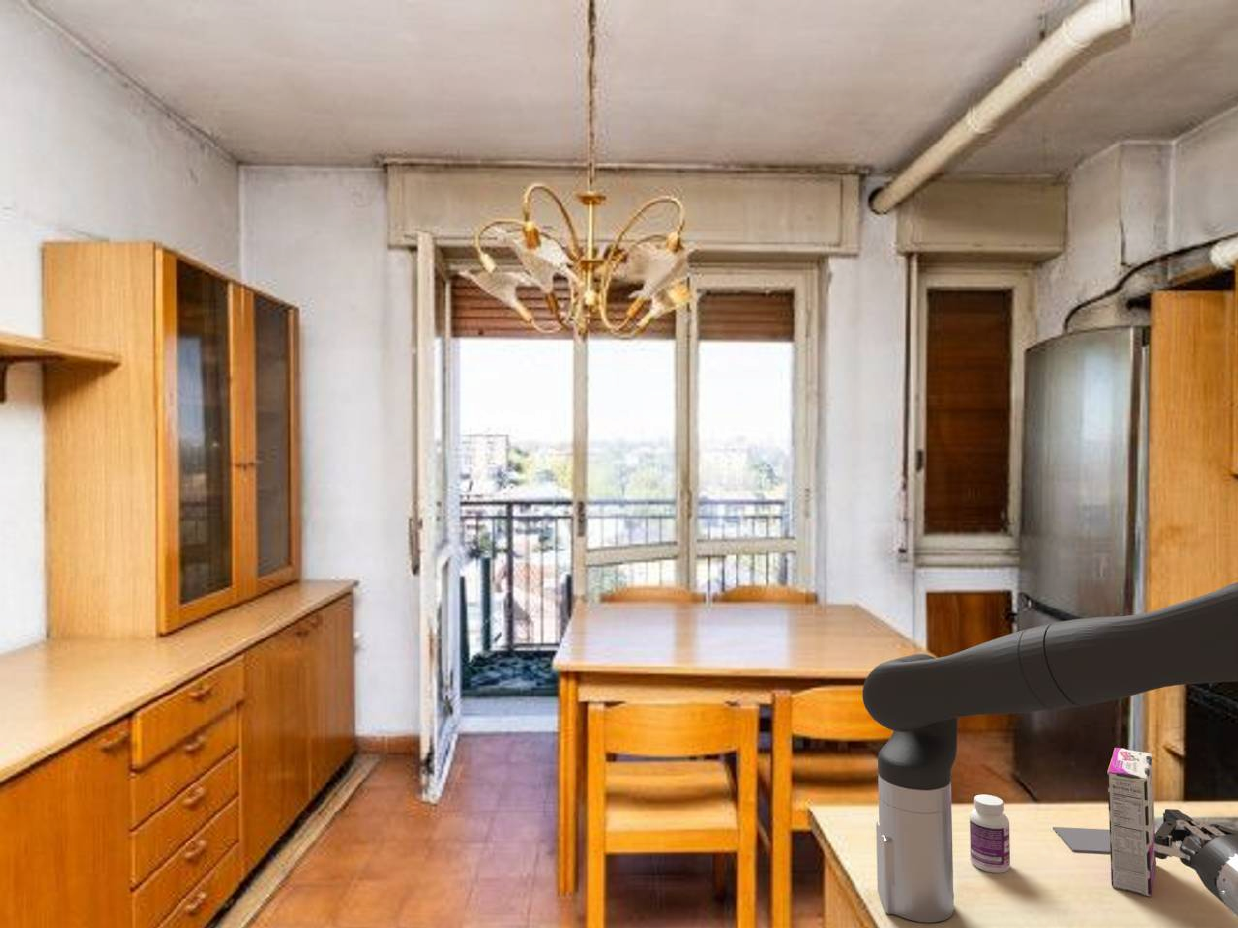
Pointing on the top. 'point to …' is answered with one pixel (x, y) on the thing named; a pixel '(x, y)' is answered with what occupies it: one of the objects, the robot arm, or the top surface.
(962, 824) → the top surface
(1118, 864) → the candy bar box
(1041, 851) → the top surface
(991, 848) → the pill bottle
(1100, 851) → the mat
